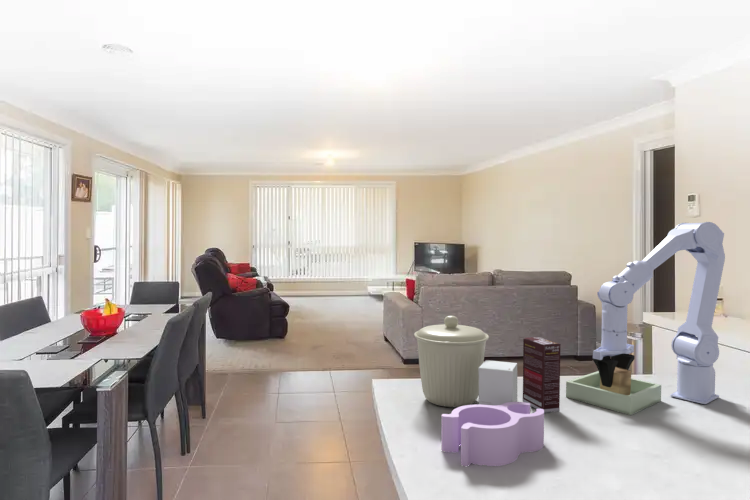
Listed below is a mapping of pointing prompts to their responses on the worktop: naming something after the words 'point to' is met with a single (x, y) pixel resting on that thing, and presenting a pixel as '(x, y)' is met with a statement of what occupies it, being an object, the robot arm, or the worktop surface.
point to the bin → (613, 394)
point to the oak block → (620, 382)
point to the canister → (450, 362)
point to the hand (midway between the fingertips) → (613, 384)
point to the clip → (492, 432)
